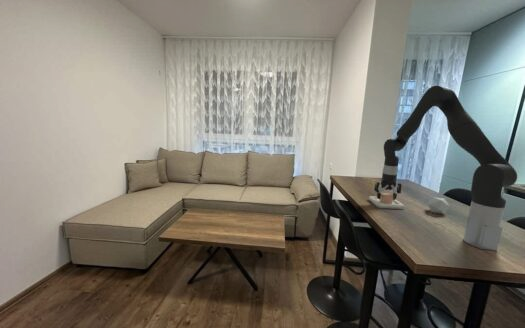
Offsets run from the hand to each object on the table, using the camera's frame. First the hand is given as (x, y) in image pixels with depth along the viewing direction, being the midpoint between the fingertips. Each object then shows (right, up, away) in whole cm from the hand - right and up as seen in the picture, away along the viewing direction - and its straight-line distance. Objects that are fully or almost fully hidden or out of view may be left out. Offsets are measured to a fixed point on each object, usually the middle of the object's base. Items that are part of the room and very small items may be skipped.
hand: (386, 199), depth 131 cm
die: (+23, -6, -9) cm, 26 cm away
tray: (0, -3, +1) cm, 3 cm away
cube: (0, -2, 0) cm, 2 cm away
